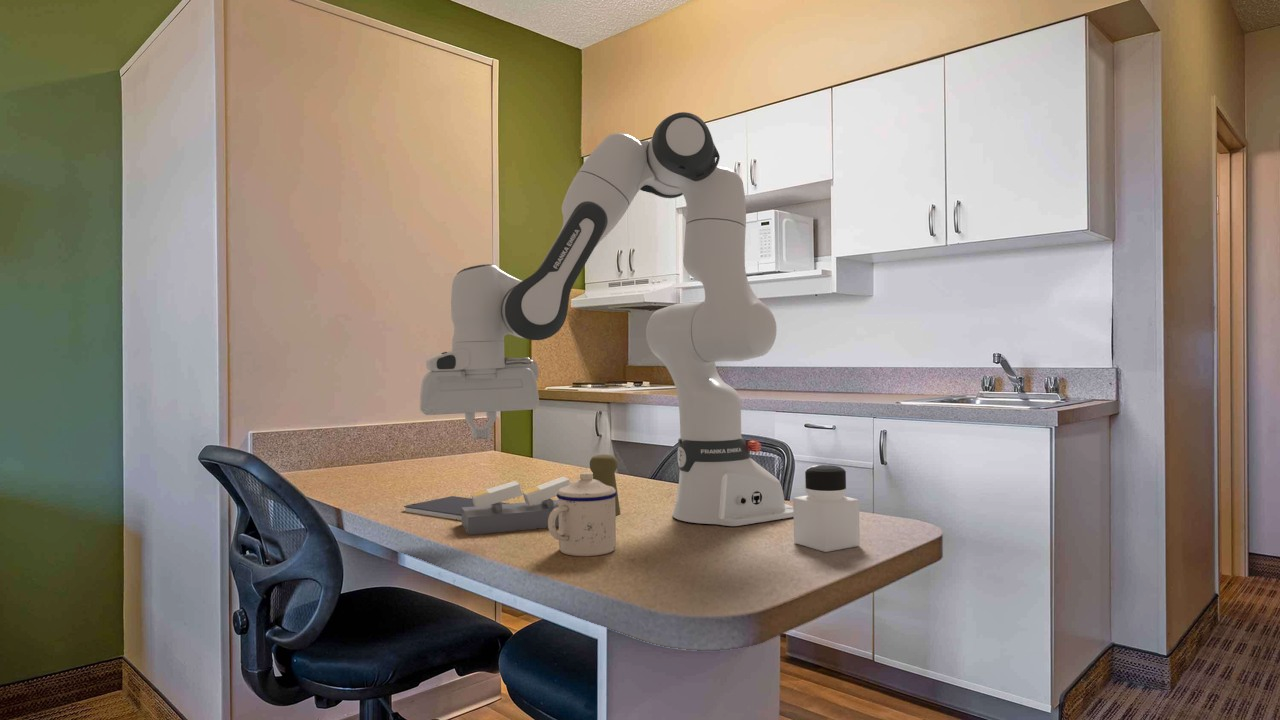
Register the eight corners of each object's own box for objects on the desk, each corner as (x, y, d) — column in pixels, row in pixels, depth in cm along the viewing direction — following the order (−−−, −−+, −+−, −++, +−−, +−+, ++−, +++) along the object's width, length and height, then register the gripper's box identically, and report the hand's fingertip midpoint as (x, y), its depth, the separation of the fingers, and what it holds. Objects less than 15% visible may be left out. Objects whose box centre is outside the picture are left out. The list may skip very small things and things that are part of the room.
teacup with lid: (589, 539, 124) (587, 467, 124) (630, 548, 118) (628, 472, 118) (530, 554, 115) (528, 476, 115) (571, 565, 109) (569, 482, 109)
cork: (616, 517, 141) (615, 457, 141) (584, 516, 142) (583, 456, 142) (623, 510, 147) (622, 453, 147) (592, 510, 148) (591, 452, 148)
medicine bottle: (860, 546, 117) (859, 467, 117) (825, 553, 113) (823, 471, 113) (827, 537, 123) (826, 461, 123) (792, 543, 119) (791, 465, 119)
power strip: (602, 512, 146) (601, 489, 146) (616, 521, 138) (616, 497, 138) (461, 524, 137) (461, 500, 137) (468, 535, 129) (468, 509, 129)
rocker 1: (517, 491, 138) (515, 480, 138) (522, 495, 135) (519, 483, 134) (473, 504, 136) (470, 493, 135) (477, 509, 132) (474, 497, 132)
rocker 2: (566, 486, 141) (563, 475, 141) (572, 490, 138) (569, 478, 137) (525, 502, 139) (521, 491, 139) (529, 505, 135) (526, 494, 135)
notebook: (527, 513, 149) (452, 503, 161) (527, 505, 149) (452, 495, 161) (478, 526, 138) (402, 514, 151) (478, 517, 138) (402, 505, 151)
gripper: (534, 356, 141) (536, 432, 141) (417, 360, 134) (420, 440, 134) (541, 356, 135) (544, 436, 135) (420, 360, 128) (422, 444, 128)
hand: (481, 438), depth 134 cm, fingers closed
